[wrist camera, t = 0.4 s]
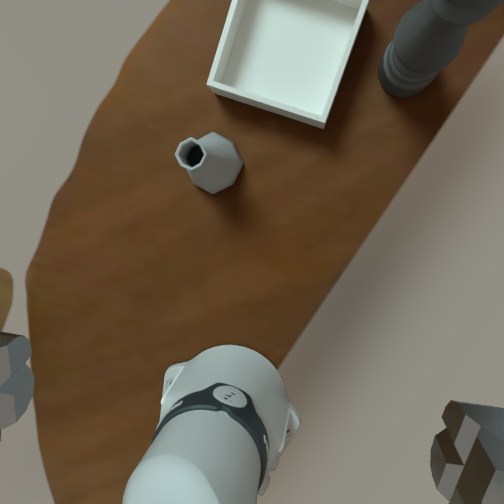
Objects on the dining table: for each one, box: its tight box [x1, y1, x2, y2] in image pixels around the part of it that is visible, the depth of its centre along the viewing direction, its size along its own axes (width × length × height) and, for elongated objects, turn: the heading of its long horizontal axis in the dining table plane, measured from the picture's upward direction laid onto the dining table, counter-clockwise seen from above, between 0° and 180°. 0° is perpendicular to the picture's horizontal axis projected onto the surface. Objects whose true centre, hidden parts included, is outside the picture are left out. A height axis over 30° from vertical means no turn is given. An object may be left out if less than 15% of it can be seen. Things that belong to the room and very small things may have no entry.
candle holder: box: [378, 0, 504, 98], centre depth 35 cm, size 6×6×25 cm
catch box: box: [207, 0, 369, 129], centre depth 47 cm, size 14×14×4 cm
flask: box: [175, 132, 244, 194], centre depth 47 cm, size 7×7×10 cm
